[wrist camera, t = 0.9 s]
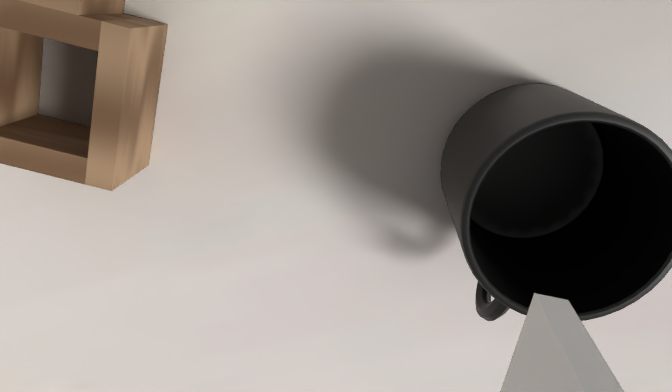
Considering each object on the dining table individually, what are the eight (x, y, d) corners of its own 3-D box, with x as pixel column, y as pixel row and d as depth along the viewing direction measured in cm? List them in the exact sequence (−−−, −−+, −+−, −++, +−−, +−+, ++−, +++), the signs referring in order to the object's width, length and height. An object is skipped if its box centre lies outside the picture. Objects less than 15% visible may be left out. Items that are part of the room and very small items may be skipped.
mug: (395, 245, 35) (400, 323, 26) (485, 55, 31) (525, 75, 23) (538, 302, 36) (588, 397, 27) (644, 122, 32) (741, 166, 23)
